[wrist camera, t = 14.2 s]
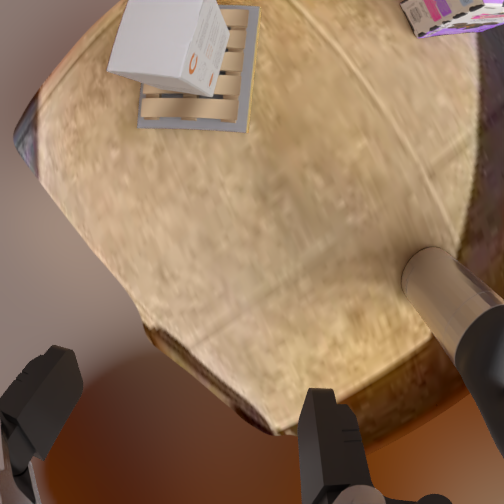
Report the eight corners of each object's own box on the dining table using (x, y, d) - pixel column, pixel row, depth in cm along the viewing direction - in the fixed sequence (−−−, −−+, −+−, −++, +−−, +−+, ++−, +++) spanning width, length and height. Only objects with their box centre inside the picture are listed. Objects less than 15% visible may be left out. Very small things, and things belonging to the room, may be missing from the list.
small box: (176, 26, 28) (133, -19, 16) (231, 33, 28) (212, -18, 16) (158, 90, 31) (103, 72, 19) (213, 99, 31) (182, 79, 19)
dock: (261, 13, 31) (261, 5, 28) (249, 133, 36) (247, 132, 34) (160, 14, 31) (152, 7, 28) (146, 128, 37) (137, 128, 34)
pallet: (249, 12, 28) (249, 7, 27) (237, 123, 33) (236, 122, 32) (158, 14, 28) (154, 9, 27) (145, 119, 33) (140, 119, 32)
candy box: (415, 39, 30) (484, 5, 15) (397, 3, 28) (455, -45, 13) (482, 33, 28) (551, 12, 12) (466, -1, 26) (529, -31, 11)
